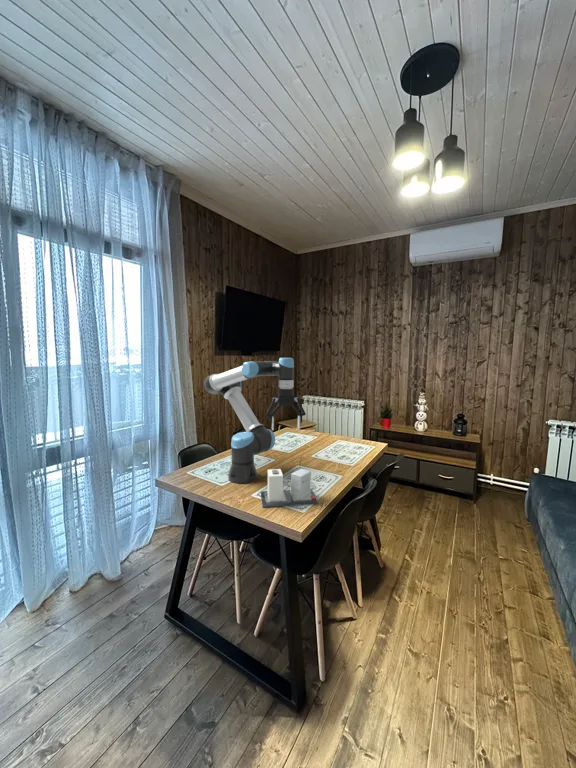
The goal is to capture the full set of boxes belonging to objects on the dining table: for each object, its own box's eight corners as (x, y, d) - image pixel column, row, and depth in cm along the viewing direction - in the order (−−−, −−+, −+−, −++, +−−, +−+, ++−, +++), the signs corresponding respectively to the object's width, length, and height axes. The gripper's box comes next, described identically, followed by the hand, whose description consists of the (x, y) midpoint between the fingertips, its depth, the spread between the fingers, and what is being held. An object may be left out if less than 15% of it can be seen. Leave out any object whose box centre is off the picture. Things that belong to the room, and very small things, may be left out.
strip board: (262, 507, 131) (262, 502, 131) (260, 494, 143) (260, 489, 143) (317, 503, 135) (317, 498, 135) (311, 491, 147) (311, 486, 146)
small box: (301, 489, 144) (301, 468, 143) (310, 493, 141) (311, 471, 140) (290, 495, 138) (290, 473, 137) (300, 499, 135) (300, 476, 134)
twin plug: (269, 500, 133) (269, 475, 132) (267, 492, 141) (267, 468, 140) (282, 500, 134) (283, 474, 133) (280, 491, 142) (280, 467, 141)
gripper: (262, 389, 150) (262, 431, 152) (311, 388, 154) (311, 430, 156) (261, 387, 158) (261, 428, 160) (308, 387, 162) (307, 426, 164)
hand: (285, 429), depth 158 cm, fingers open, 13 cm apart
